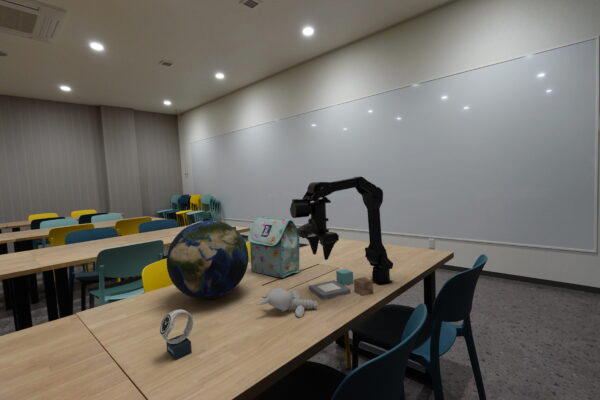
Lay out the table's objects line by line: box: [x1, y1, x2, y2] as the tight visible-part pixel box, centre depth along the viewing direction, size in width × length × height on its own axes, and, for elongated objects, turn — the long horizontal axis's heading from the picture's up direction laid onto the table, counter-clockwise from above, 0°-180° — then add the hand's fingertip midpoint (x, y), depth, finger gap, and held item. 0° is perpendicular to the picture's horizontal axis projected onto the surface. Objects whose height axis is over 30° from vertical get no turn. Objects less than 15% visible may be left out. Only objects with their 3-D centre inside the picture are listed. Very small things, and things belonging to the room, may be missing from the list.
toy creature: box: [257, 287, 318, 318], centre depth 99 cm, size 13×7×20 cm
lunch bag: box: [247, 216, 301, 278], centre depth 142 cm, size 23×16×27 cm
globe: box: [166, 219, 250, 301], centre depth 114 cm, size 30×30×30 cm
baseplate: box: [308, 280, 352, 300], centre depth 115 cm, size 12×12×2 cm
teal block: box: [335, 268, 354, 286], centre depth 124 cm, size 5×5×5 cm
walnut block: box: [353, 276, 374, 297], centre depth 112 cm, size 5×5×5 cm
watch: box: [159, 308, 194, 361], centre depth 77 cm, size 6×8×11 cm
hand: (320, 256), depth 110 cm, fingers open, 9 cm apart
